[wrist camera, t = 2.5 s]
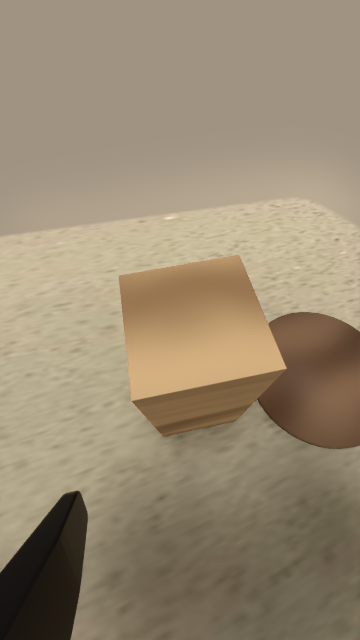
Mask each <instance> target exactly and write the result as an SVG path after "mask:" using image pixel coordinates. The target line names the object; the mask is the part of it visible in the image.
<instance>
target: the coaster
mask: <svg viewBox="0 0 360 640" xmlns="http://www.w3.org/2000/svg"><path fill="white" fill-rule="evenodd" d="M268 325H269V327H270V330H271V332H272V335H273V337H274V339H275V342H276V344H277V347H278V349H279V351H280V354H281V356H282V358H283V361H284V363H285V366H286V368H287V369H286V370H285V371H284V372H283V373H282V374H281V375H280V376H279V377H278V378H277V379H276V380H275V381H274V382H273V383H272V384H271V385H270V386H269V387H268V388H267V389H266V390H265V391H264V392H263V393H262V394H261V395H260V396H259V397H258V398H257V400H258V401H259V403H260V405H261V406H262V408H263V409H264V411H265V412H266V413H267V414H268V415H269V416H270V418H271V419H272V420H273V421H274V422H275V423H276V424H278V425H279V426H280V427H281V428H282V429H284V430H285V431H286V432H288V433H289V434H291V435H293V436H294V437H296V438H298V439H300V440H302V441H304V442H307V443H309V444H313V445H316V446H319V447H325V448H348V447H355V446H358V445H360V332H359V331H358V330H356V329H355V328H353V327H352V326H350V325H349V324H347V323H345V322H343V321H341V320H338V319H336V318H334V317H330V316H327V315H323V314H319V313H311V312H299V313H291V314H287V315H284V316H281V317H278V318H277V319H275V320H273V321H271V322H270V323H269V324H268Z"/></svg>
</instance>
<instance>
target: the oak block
mask: <svg viewBox="0 0 360 640" xmlns="http://www.w3.org/2000/svg"><path fill="white" fill-rule="evenodd" d="M119 283H120V293H121V302H122V312H123V322H124V332H125V341H126V351H127V361H128V371H129V380H130V390H131V400H132V402H133V403H134V404H135V405H136V406H137V408H138V409H139V410H140V411H141V412H142V413H143V414H144V415H145V416H146V418H147V419H148V420H149V421H150V422H151V423H152V424H153V425H154V427H155V428H156V429H157V430H158V431H159V432H160V433H161V434H162V436H163V437H164V436H168V435H173V434H178V433H182V432H187V431H191V430H196V429H201V428H205V427H210V426H214V425H219V424H223V423H228V422H233V421H236V420H237V419H238V418H239V417H240V416H241V415H242V414H243V413H244V412H245V410H246V409H247V408H248V407H249V406H250V405H251V404H252V403H253V402H254V401H255V400H256V399H257V398H258V397H259V396H260V395H261V394H262V393H263V392H264V391H265V390H266V389H267V388H268V387H269V386H270V385H271V384H272V383H273V382H274V381H275V380H276V379H277V378H278V377H279V376H280V375H281V374H282V373H283V372H284V371H285V370H286V369H287V368H286V366H285V363H284V361H283V358H282V356H281V354H280V351H279V349H278V347H277V344H276V342H275V339H274V337H273V335H272V332H271V330H270V327H269V325H268V323H267V320H266V318H265V315H264V313H263V311H262V308H261V306H260V304H259V301H258V299H257V296H256V294H255V292H254V289H253V287H252V284H251V282H250V280H249V277H248V275H247V272H246V270H245V268H244V265H243V263H242V261H241V258H240V256H239V255H235V256H230V257H224V258H218V259H212V260H207V261H201V262H195V263H189V264H184V265H178V266H172V267H167V268H161V269H155V270H149V271H144V272H138V273H132V274H126V275H121V276H119Z"/></svg>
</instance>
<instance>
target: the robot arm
mask: <svg viewBox="0 0 360 640" xmlns="http://www.w3.org/2000/svg"><path fill="white" fill-rule="evenodd" d="M87 522H88V514H87V510H86V507H85V504H84V501H83V498H82V495H81V493H80V492H79V491H73V492H69V493H66V494H64V495H63V496H62V497H61V498H60V499H59V501H58V502H57V503H56V504H55V506H54V507H53V508H52V509H51V511H50V512H49V513H48V514H47V516H46V517H45V518H44V519H43V520H42V522H41V523H40V524H39V525H38V527H37V528H36V529H35V530H34V532H33V533H32V534H31V535H30V537H29V538H28V539H27V540H26V542H25V543H24V544H23V545H22V546H21V548H20V549H19V550H18V551H17V553H16V554H15V555H14V556H13V558H12V559H11V560H10V561H9V563H8V564H7V565H6V566H5V567H4V569H3V570H2V571H1V572H0V640H70V639H71V634H72V629H73V624H74V619H75V614H76V608H77V603H78V598H79V592H80V586H81V578H82V569H83V559H84V550H85V541H86V531H87Z"/></svg>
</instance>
